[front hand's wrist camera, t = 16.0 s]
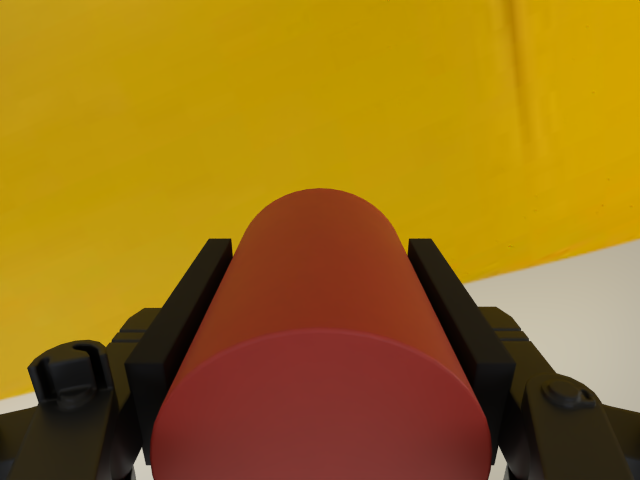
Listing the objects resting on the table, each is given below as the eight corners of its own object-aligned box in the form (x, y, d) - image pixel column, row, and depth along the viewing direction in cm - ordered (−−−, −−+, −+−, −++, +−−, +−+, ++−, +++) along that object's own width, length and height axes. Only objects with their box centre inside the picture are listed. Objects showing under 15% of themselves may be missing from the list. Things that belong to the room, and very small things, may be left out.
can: (218, 308, 16) (117, 537, 8) (268, 161, 14) (200, 275, 6) (363, 356, 16) (401, 605, 9) (431, 224, 14) (564, 398, 7)
